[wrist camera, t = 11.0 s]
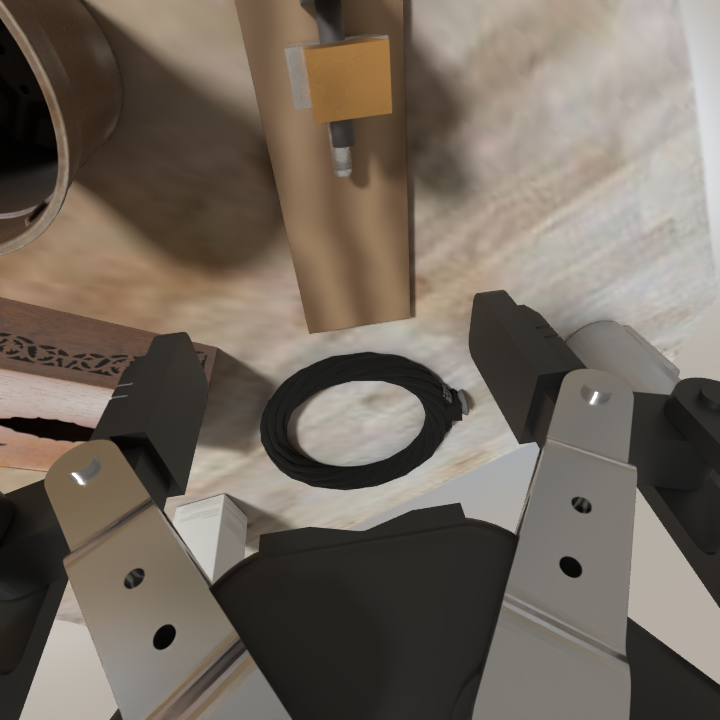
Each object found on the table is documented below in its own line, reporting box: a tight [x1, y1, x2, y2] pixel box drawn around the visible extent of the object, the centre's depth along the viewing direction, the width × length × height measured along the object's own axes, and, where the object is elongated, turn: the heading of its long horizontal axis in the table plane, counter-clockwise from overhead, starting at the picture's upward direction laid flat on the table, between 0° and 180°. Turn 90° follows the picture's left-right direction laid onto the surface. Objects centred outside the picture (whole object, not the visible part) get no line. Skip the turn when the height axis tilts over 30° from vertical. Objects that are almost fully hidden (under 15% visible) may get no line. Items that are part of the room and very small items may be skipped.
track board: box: [235, 0, 410, 334], centre depth 32 cm, size 12×34×16 cm, turn 6°
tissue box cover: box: [0, 297, 217, 472], centre depth 44 cm, size 26×14×10 cm, turn 67°
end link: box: [284, 34, 392, 179], centre depth 27 cm, size 6×9×15 cm, turn 6°
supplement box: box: [173, 494, 247, 584], centre depth 64 cm, size 9×9×15 cm
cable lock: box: [260, 352, 469, 490], centre depth 59 cm, size 28×4×30 cm
